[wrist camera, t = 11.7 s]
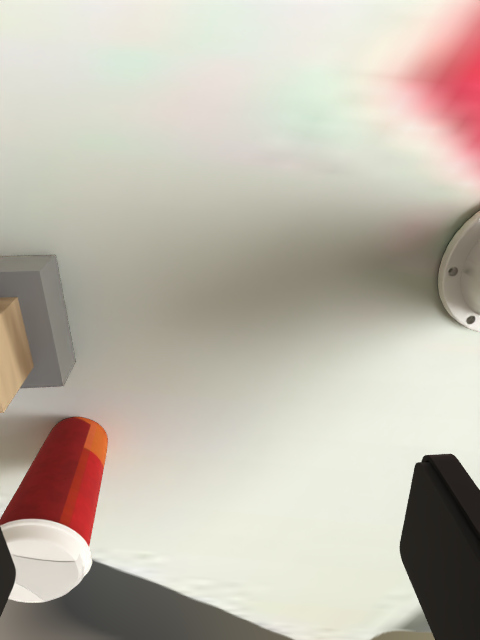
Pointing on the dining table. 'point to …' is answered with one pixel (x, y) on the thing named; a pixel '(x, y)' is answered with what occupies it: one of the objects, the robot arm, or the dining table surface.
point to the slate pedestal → (40, 316)
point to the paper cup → (56, 512)
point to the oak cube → (12, 351)
